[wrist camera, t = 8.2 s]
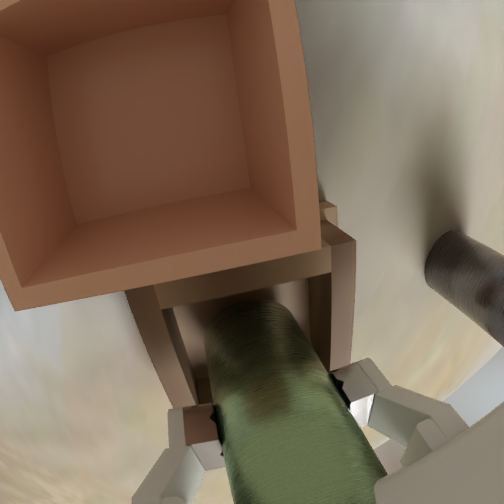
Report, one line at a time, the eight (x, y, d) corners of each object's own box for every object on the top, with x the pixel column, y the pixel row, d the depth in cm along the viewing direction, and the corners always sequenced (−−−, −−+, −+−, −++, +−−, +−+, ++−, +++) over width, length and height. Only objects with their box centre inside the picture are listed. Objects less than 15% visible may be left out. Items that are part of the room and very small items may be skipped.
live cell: (294, 288, 12) (439, 505, 4) (299, 361, 14) (394, 543, 5) (194, 310, 12) (242, 579, 3) (214, 382, 13) (264, 587, 5)
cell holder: (327, 201, 14) (367, 224, 11) (329, 353, 17) (355, 394, 14) (122, 240, 12) (105, 278, 9) (175, 390, 16) (178, 439, 13)
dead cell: (470, 225, 16) (587, 292, 8) (461, 280, 18) (560, 356, 9) (428, 236, 16) (561, 322, 7) (421, 296, 18) (526, 391, 9)
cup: (236, 7, 10) (279, -68, 4) (262, 195, 13) (321, 249, 8) (41, 52, 9) (-39, 18, 3) (74, 235, 12) (14, 311, 6)
